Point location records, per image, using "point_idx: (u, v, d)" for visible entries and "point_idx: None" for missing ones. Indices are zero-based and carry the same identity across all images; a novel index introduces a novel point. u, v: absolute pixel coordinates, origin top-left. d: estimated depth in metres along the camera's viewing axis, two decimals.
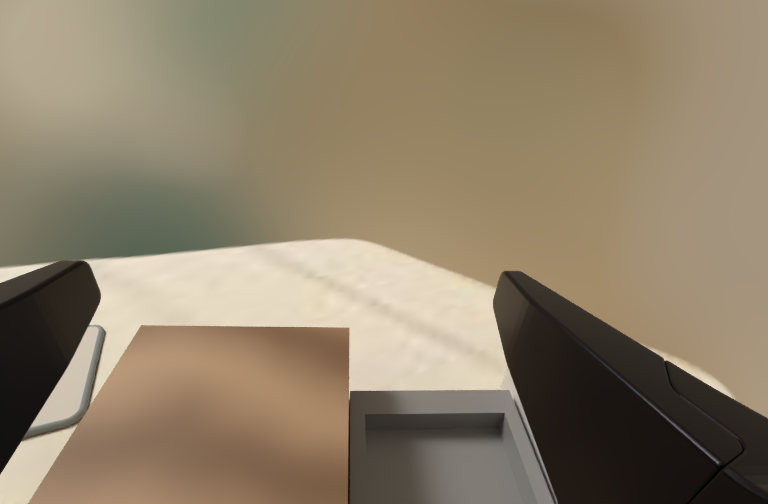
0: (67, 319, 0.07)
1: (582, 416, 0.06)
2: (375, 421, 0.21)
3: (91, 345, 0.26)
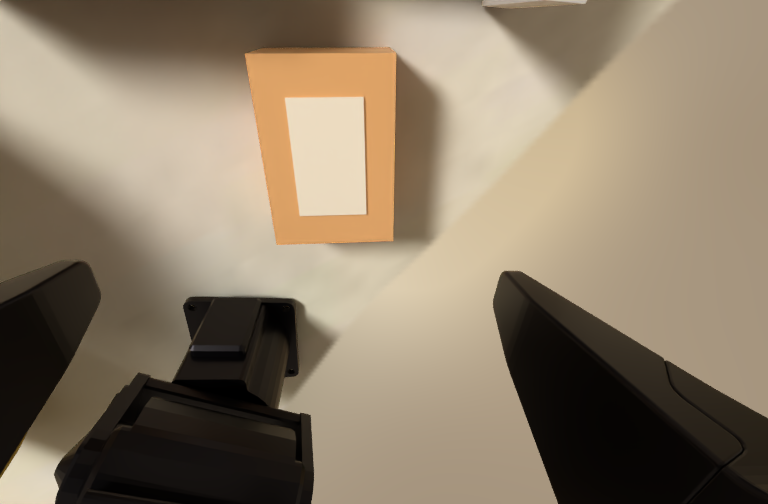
0: (67, 319, 0.07)
1: (582, 416, 0.06)
2: None
3: None
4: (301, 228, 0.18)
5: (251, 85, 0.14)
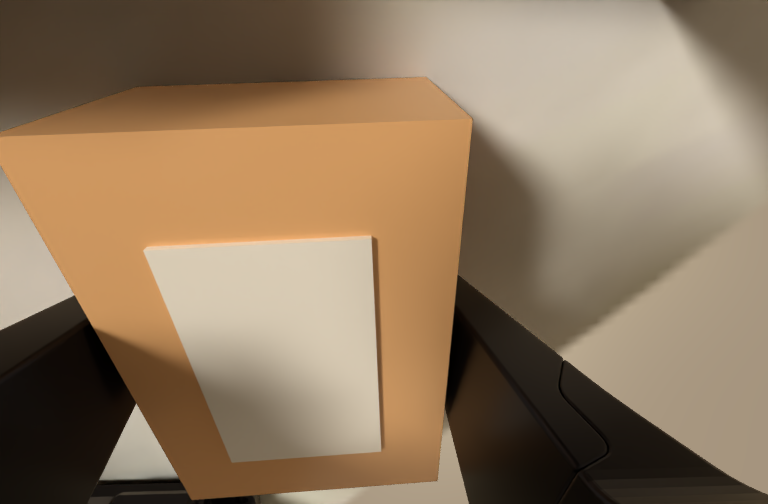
0: None
1: (484, 417, 0.06)
2: None
3: None
4: (240, 476, 0.08)
5: (38, 221, 0.05)
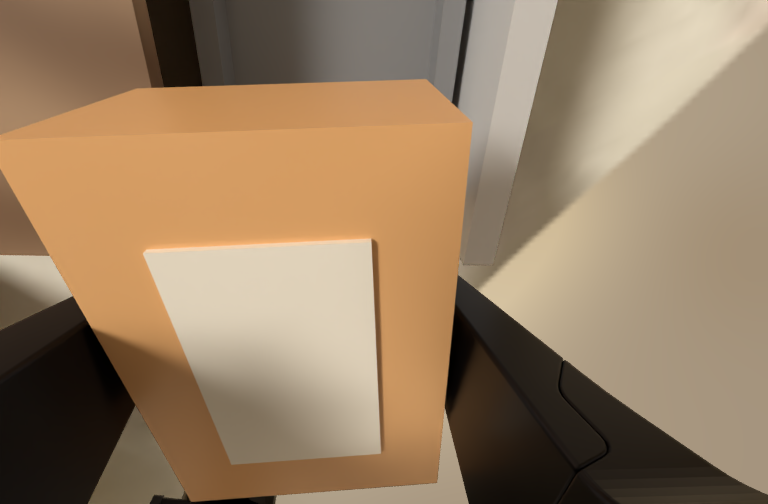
0: None
1: (484, 417, 0.06)
2: None
3: None
4: (239, 477, 0.08)
5: (37, 224, 0.05)
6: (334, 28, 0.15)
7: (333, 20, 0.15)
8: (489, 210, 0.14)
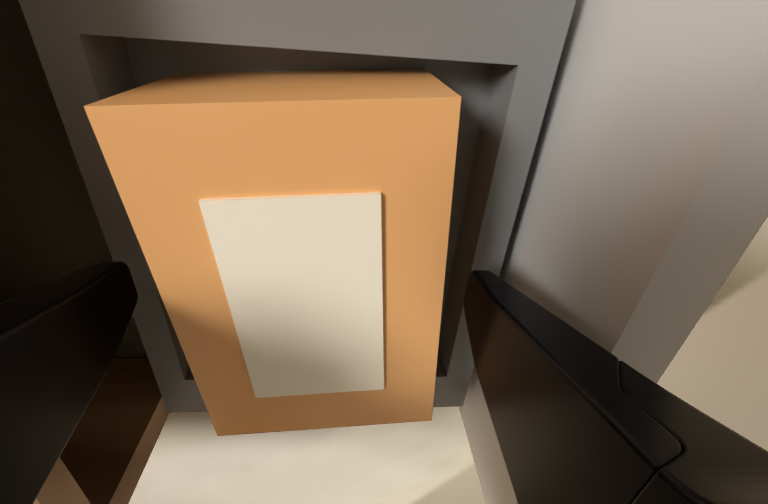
0: (109, 320, 0.07)
1: (538, 416, 0.06)
2: None
3: None
4: (261, 412, 0.09)
5: (116, 176, 0.06)
6: None
7: None
8: None
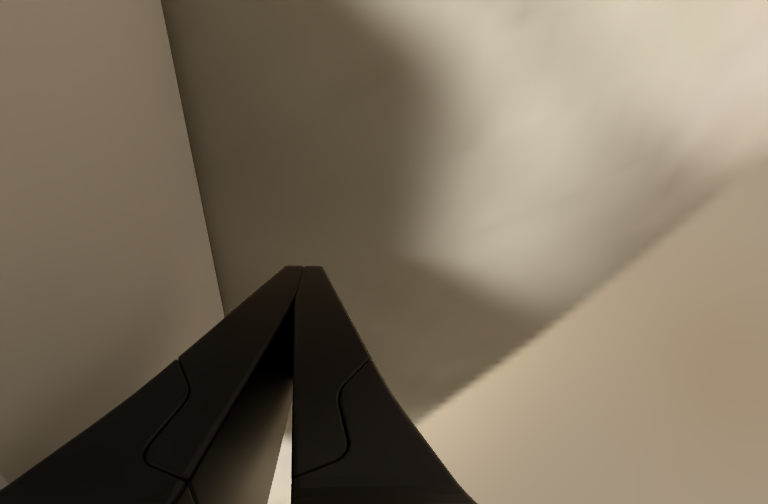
0: None
1: None
2: None
3: None
4: None
5: None
6: None
7: None
8: None
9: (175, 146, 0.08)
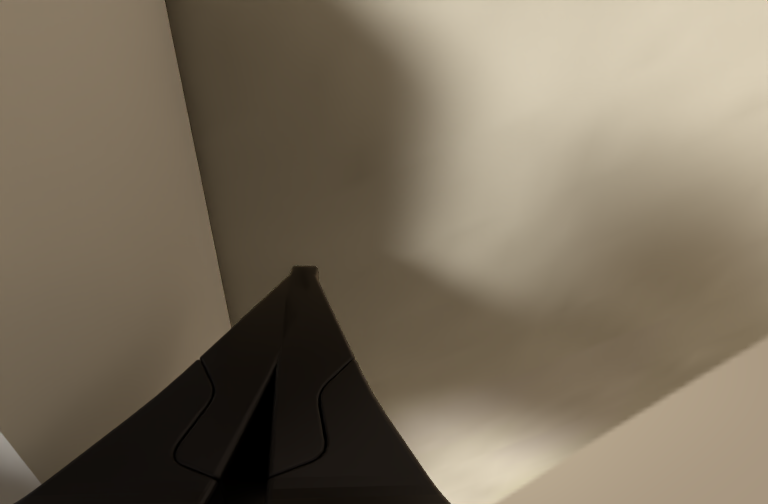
0: None
1: None
2: None
3: None
4: None
5: None
6: None
7: None
8: None
9: (180, 146, 0.08)
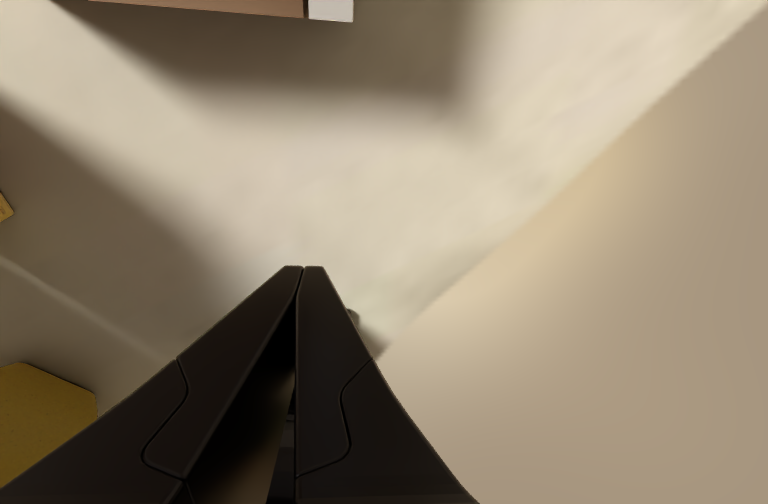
0: None
1: None
2: None
3: None
4: None
5: None
6: None
7: None
8: None
9: None
